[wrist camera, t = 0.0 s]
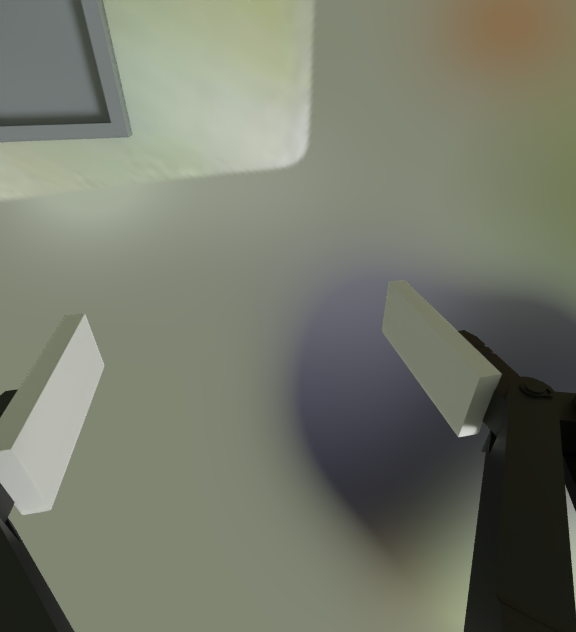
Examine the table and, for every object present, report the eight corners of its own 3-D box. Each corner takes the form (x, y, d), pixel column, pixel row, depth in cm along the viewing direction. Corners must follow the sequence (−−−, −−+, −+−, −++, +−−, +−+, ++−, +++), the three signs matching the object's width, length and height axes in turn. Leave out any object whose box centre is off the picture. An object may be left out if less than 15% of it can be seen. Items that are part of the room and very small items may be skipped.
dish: (-122, -76, 26) (-147, -89, 24) (87, -67, 28) (79, -79, 26) (-27, 140, 33) (-40, 143, 31) (132, 134, 35) (128, 137, 34)
